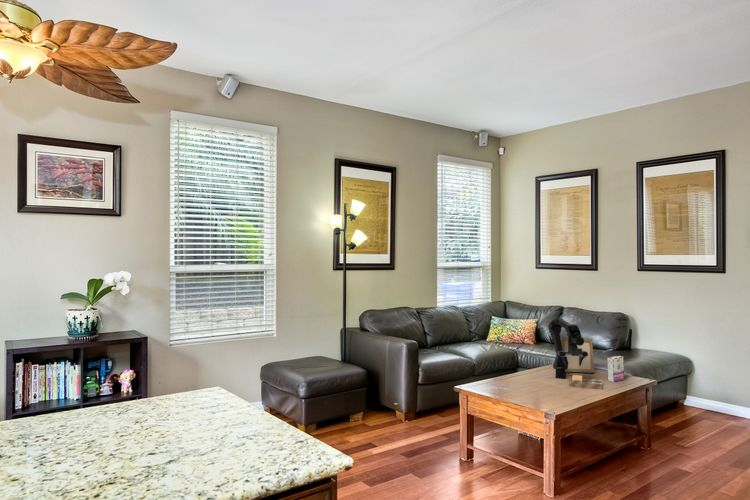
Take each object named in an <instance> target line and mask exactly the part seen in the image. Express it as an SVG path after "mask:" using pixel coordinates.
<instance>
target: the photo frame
mask: <svg viewBox="0 0 750 500" xmlns="http://www.w3.org/2000/svg"><path fill="white" fill-rule="evenodd" d="M560 338H561V344H562V349H563V351H565V352H568V337H560ZM582 338H583V339H584V344H583V345H581V346H579V345H577V347H578V349H579V348H580V349H582V351H586V352H587V353H588V356H586V358H584V359H583V361H582V363H581V366H579V356H572V355H565V356H567V360H568V368H567V369H565V371H566V373H586V374H587V373H590V374H591V373H593V374H594V373H595V364H594V363H595V362H594V349H593V348H594V347H593V338H584V337H582ZM570 354H571V353H570Z"/></svg>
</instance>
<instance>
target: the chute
mask: <svg viewBox="0 0 750 500" xmlns="http://www.w3.org/2000/svg"><path fill="white" fill-rule="evenodd" d="M568 386H569V388H572V387H573V388H580V389H582V388H583V389H592V390H593V389H594V390H603V380H600V379H584V378H582V382H581V381H580V380H573V381H572V378H571V377H569V381H568Z"/></svg>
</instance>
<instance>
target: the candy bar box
mask: <svg viewBox="0 0 750 500" xmlns="http://www.w3.org/2000/svg"><path fill="white" fill-rule="evenodd" d="M606 360H607V381H608V382H610V383H611V382H613V383H616V382H617V381H618V382H621V381H625V359H624V356H621V355H614V356H608V357H607V359H606Z"/></svg>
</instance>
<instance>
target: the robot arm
mask: <svg viewBox="0 0 750 500" xmlns="http://www.w3.org/2000/svg"><path fill="white" fill-rule="evenodd" d="M547 326H548V330H549V333H550V335H551V336H552V339H553V344H554V348H555V355H556V356H555V358H554V363H553V364H552V368H553V369H554V370H555V378H556V379H566V378H567V372H566V371H565V369H567V368H568V360H567V356H565V355H572V356H579V366H581V363H582V361H583V359H584V358H586V356H588V353H587V352H586V351H582V349H580V348H579V349H578V347H577V345H579V346H581V345H583V344H584V339H585V338H584V337H582V334H581V333H582V332H581V330H580V328H579V326H578V325H577V324H575V323H570V322H568V321H566V320H564V319H563V318H558V317H557V318H555V319H554V320H552V321H551V322H549V324H548V325H547ZM562 328H563V329H565V330H564V331H565V332H566V336H567V338H568V352H565V351H563V349H562V344H561V338H562V337H561V332H562ZM583 338H584V339H583ZM570 353H571V354H570Z"/></svg>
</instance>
